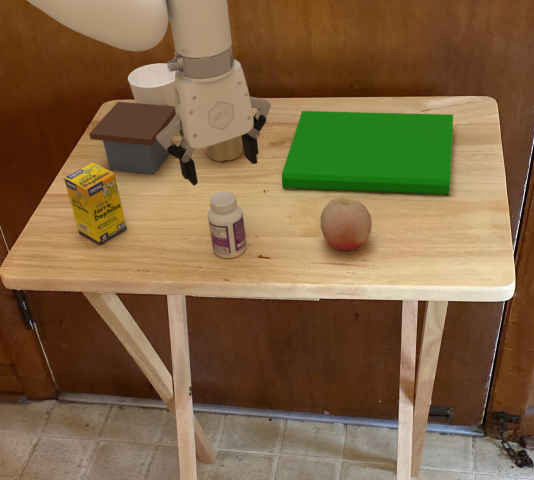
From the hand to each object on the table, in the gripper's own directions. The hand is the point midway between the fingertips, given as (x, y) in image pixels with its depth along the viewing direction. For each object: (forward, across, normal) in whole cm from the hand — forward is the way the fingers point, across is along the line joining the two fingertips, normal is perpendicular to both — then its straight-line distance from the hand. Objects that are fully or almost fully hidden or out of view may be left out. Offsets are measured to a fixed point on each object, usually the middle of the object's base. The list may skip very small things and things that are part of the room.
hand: (221, 170), depth 120 cm
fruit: (+15, +16, -9) cm, 23 cm away
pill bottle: (+15, 0, 0) cm, 15 cm away
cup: (+15, +6, +45) cm, 48 cm away
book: (+15, +33, +10) cm, 37 cm away
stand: (+14, -2, +34) cm, 37 cm away
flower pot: (+15, +12, +27) cm, 33 cm away
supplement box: (+14, -16, +16) cm, 27 cm away
